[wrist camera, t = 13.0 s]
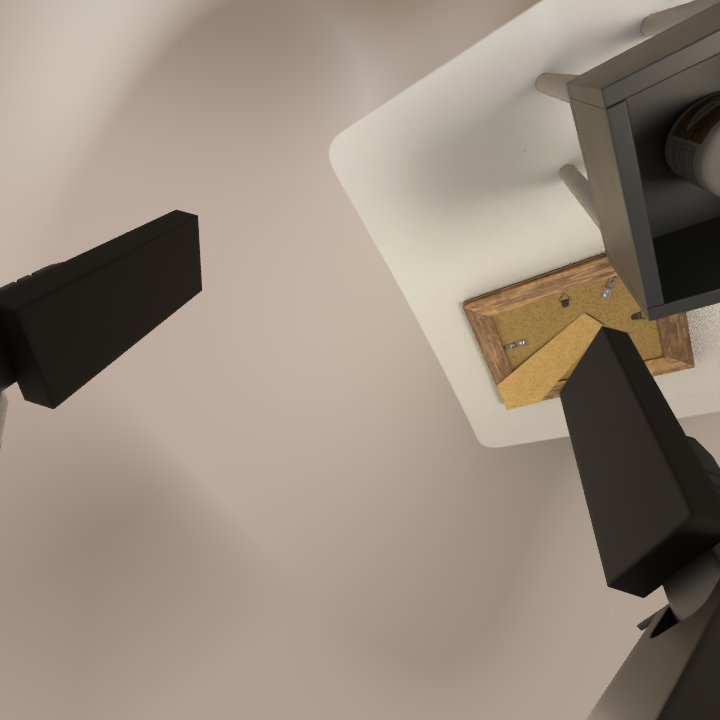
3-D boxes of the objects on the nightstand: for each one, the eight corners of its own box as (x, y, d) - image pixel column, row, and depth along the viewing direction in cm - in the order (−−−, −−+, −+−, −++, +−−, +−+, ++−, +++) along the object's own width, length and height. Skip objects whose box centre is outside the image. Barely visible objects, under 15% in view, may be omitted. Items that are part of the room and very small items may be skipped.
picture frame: (505, 402, 64) (689, 360, 54) (506, 409, 63) (695, 368, 52) (463, 301, 56) (668, 230, 46) (462, 307, 55) (674, 235, 45)
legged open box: (528, 76, 41) (601, 88, 17) (664, 1, 36) (1052, -139, 12) (558, 187, 46) (649, 322, 22) (682, 134, 41) (984, 231, 17)
